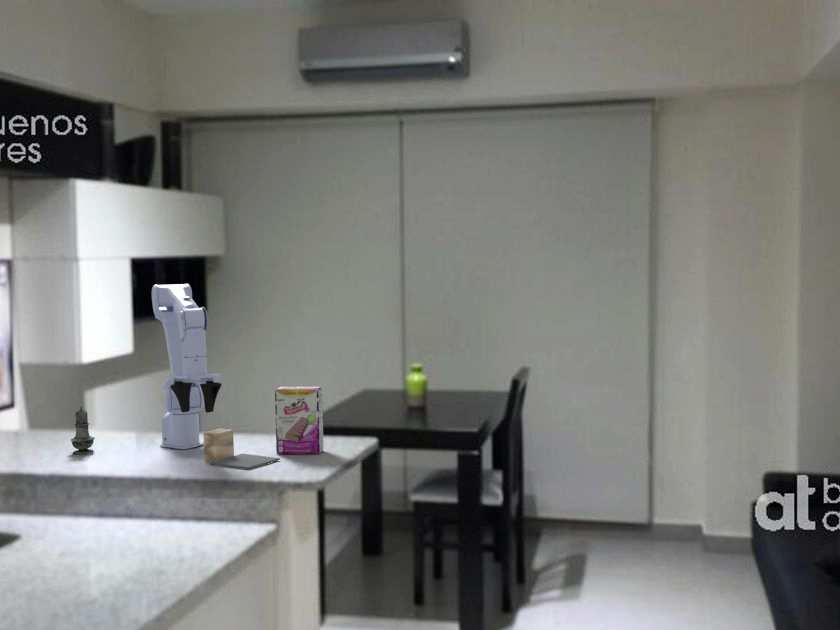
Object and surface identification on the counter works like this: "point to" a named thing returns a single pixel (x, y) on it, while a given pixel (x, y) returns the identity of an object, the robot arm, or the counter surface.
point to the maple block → (218, 444)
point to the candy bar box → (299, 420)
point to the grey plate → (244, 461)
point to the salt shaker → (82, 434)
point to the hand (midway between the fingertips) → (197, 412)
